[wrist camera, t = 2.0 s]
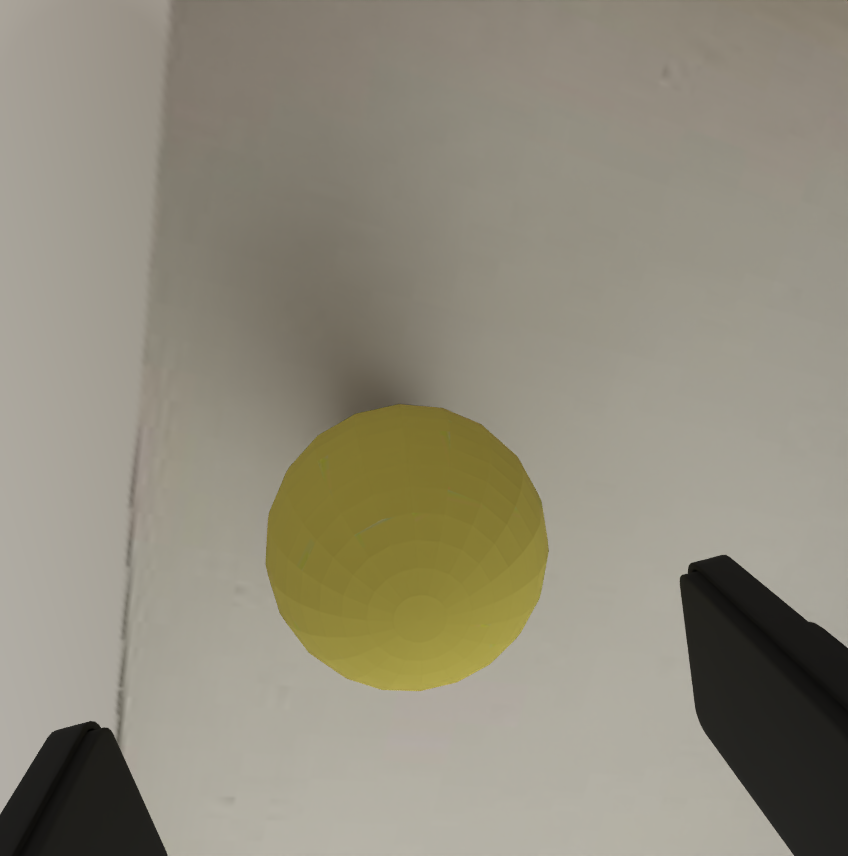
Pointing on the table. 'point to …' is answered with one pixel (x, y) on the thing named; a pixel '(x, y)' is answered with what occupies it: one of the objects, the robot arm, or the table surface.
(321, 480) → the light bulb
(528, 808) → the table surface
